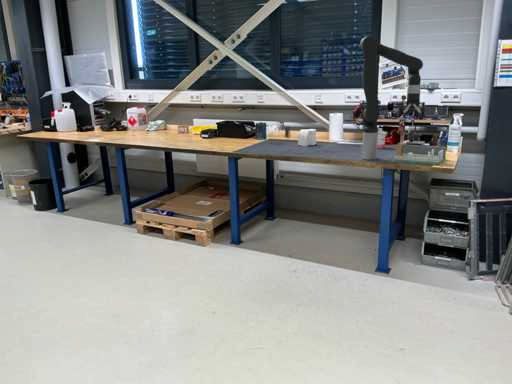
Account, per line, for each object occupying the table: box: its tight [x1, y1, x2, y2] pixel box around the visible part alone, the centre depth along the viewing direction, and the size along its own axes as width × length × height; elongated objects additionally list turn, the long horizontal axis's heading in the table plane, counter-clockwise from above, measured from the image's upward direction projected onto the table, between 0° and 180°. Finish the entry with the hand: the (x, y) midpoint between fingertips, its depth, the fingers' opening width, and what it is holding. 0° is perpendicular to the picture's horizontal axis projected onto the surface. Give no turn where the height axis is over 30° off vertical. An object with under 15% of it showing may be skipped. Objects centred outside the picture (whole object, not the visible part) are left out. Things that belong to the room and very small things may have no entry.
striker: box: [395, 129, 425, 156], centre depth 256 cm, size 13×15×16 cm
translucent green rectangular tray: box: [393, 144, 447, 166], centre depth 253 cm, size 26×19×8 cm
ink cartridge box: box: [377, 127, 386, 149], centre depth 300 cm, size 9×5×15 cm, turn 47°
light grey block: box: [297, 128, 317, 147], centre depth 323 cm, size 11×11×12 cm
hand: (412, 118), depth 257 cm, fingers open, 8 cm apart
